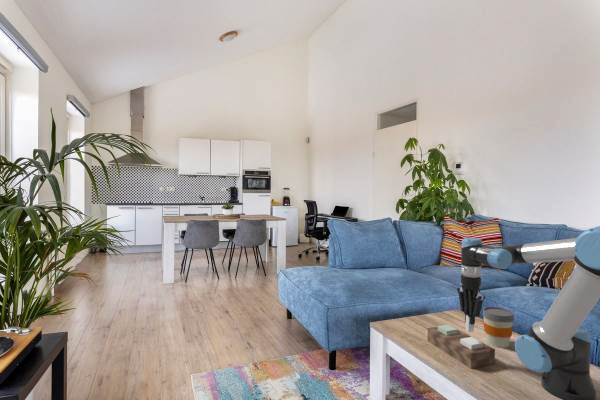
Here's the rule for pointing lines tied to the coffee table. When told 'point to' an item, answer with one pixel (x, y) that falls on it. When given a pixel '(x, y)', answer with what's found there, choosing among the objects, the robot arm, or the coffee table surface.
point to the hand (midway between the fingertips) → (469, 330)
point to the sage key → (447, 330)
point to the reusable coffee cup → (498, 326)
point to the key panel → (461, 349)
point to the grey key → (471, 343)
